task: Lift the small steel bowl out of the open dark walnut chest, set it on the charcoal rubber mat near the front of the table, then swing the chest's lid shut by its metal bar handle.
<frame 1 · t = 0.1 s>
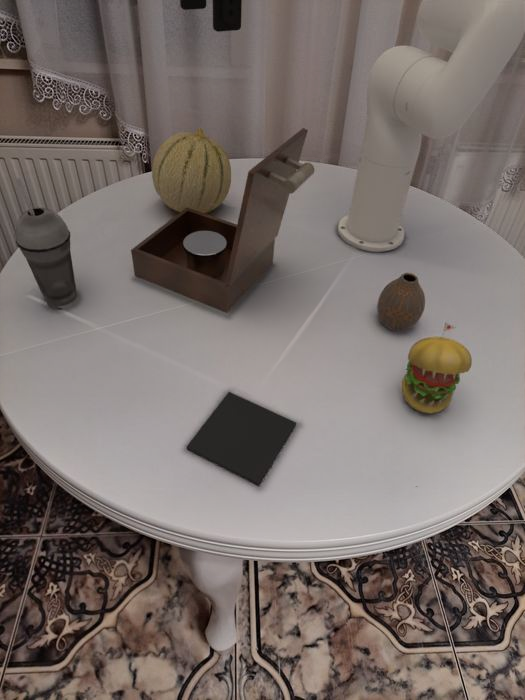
hand: (209, 18, 59), 37 cm above the table, tool pointing down, fingers open, 9 cm apart
beverage cup: (62, 301, 79), on the table
lid: (277, 215, 72), point 15 cm above the table, hinge at 100.0°
chest: (205, 272, 86), on the table
bowl: (205, 268, 86), point 1 cm above the table, touching chest
vase: (394, 322, 80), on the table
cantaloupe: (193, 210, 101), on the table
hamburger: (422, 398, 70), on the table
mat: (242, 436, 63), on the table
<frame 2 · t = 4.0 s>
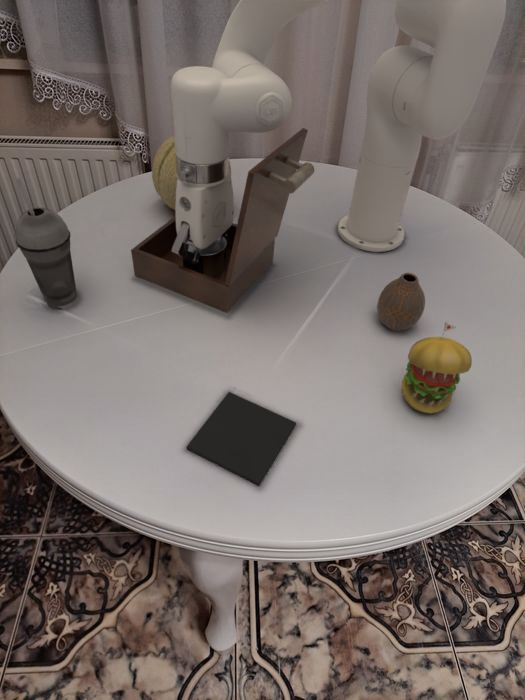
hand: (205, 266, 85), 1 cm above the table, tool pointing down, fingers closed on bowl, 7 cm apart
bowl: (205, 268, 86), point 1 cm above the table, touching chest, gripper
everything else where it was.
when the fingers open (1 cm above the table, at t = 15.9 s): bowl stays where it is, resting on mat.
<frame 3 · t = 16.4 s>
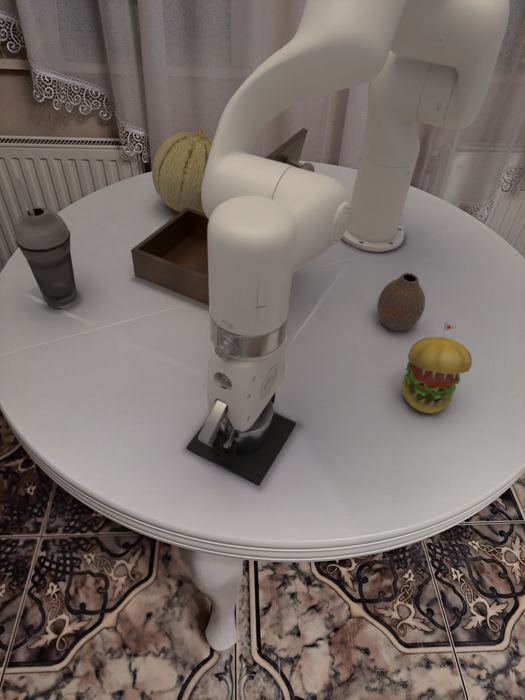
hand: (243, 427, 62), 2 cm above the table, tool pointing down, fingers open, 9 cm apart
bowl: (242, 434, 63), point 1 cm above the table, touching mat
everything else where it was.
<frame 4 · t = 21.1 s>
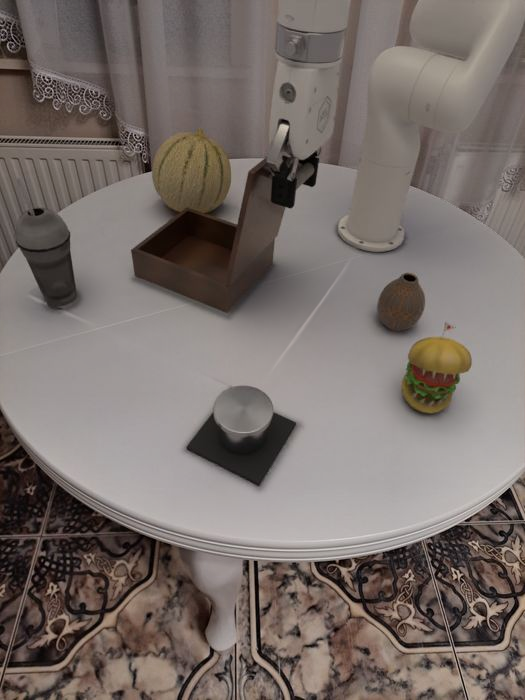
hand: (293, 192, 68), 19 cm above the table, tool pointing down, fingers closed on lid, 6 cm apart
lid: (277, 215, 72), point 15 cm above the table, hinge at 100.0°, touching gripper
everything else where it was.
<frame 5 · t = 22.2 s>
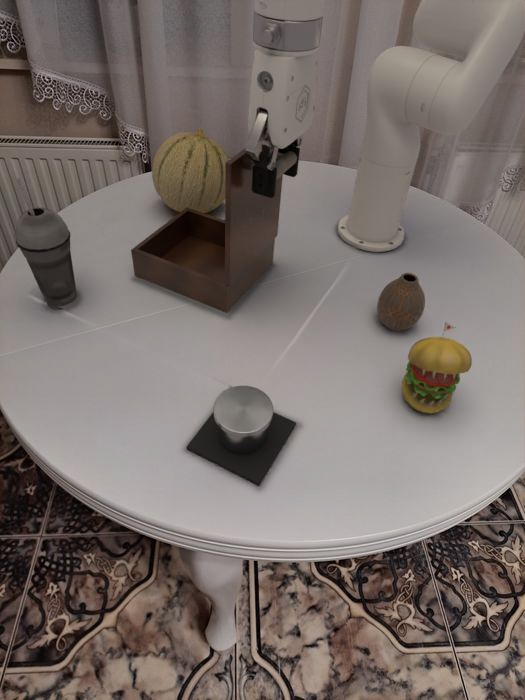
hand: (275, 182, 69), 20 cm above the table, tool pointing down, fingers closed on lid, 6 cm apart
lid: (267, 208, 72), point 15 cm above the table, hinge at 90.0°, touching gripper
everything else where it was.
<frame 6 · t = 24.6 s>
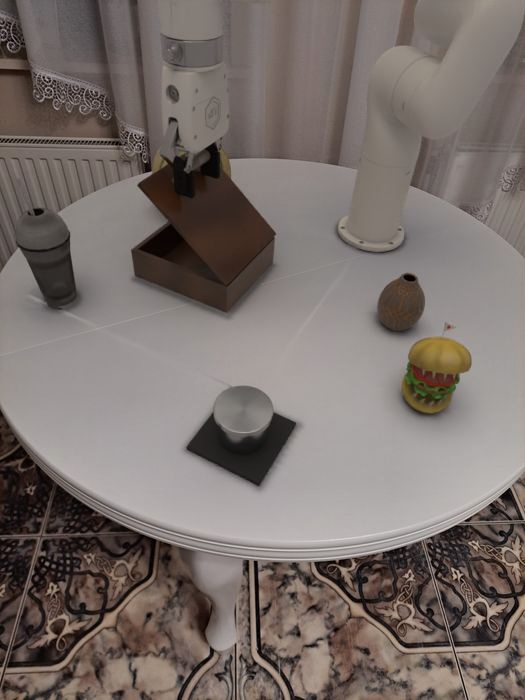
hand: (198, 184, 75), 16 cm above the table, tool pointing down, fingers closed on lid, 6 cm apart
lid: (219, 204, 76), point 14 cm above the table, hinge at 38.7°, touching gripper
everything else where it was.
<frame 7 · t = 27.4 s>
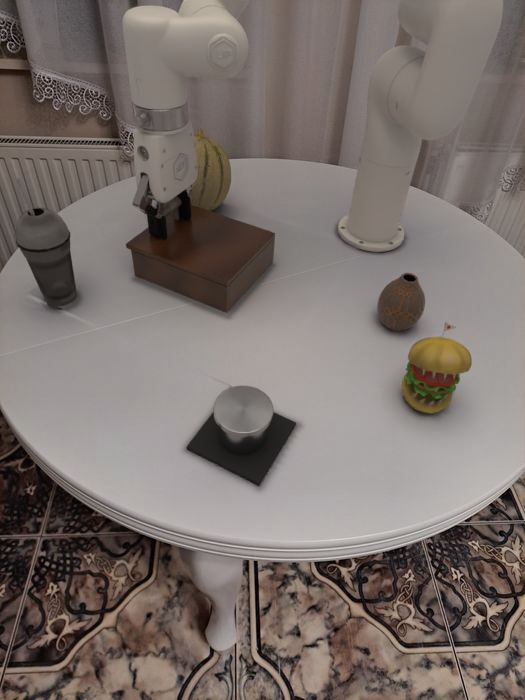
hand: (170, 225, 83), 7 cm above the table, tool pointing down, fingers closed on lid, 6 cm apart
lid: (202, 229, 81), point 8 cm above the table, hinge at -0.2°, touching chest, gripper
everything else where it was.
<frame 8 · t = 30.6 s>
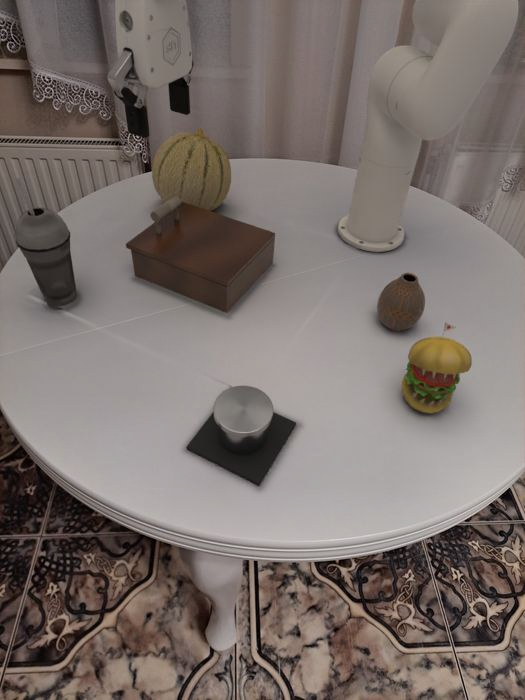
hand: (160, 123, 72), 23 cm above the table, tool pointing down, fingers open, 9 cm apart
lid: (202, 229, 81), point 8 cm above the table, hinge at -0.2°, touching chest
everything else where it was.
at the end: bowl inside the target area on the mat (0.1 cm from its centre), point 0.6 cm above the mat's base; bowl tilted 0°; lid at +0° (first picture: +100°) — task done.
